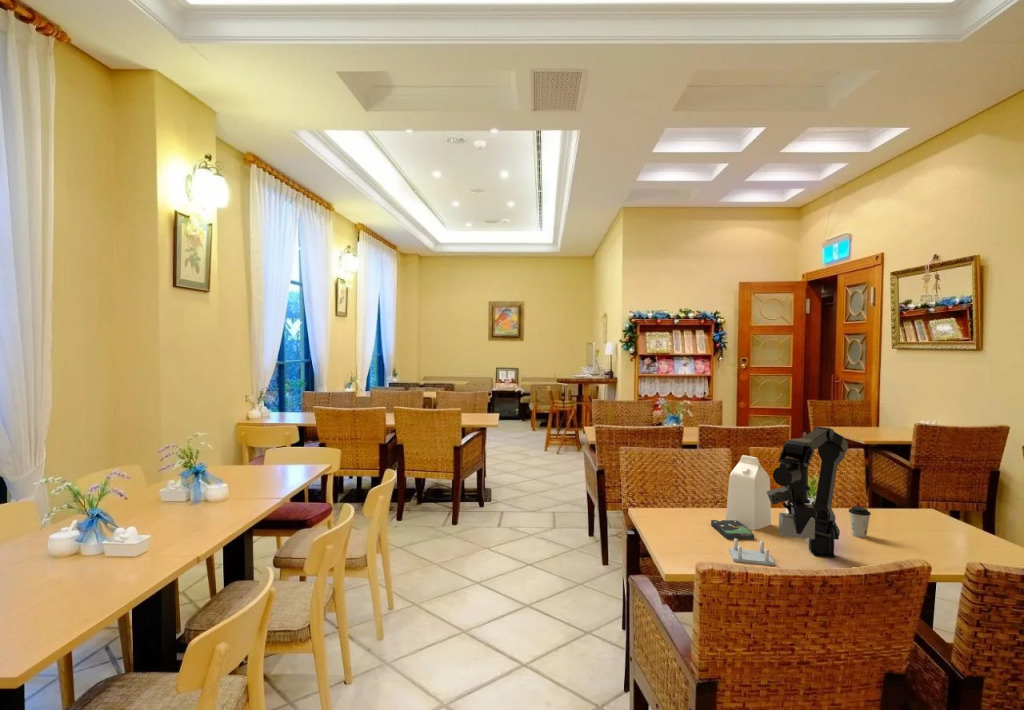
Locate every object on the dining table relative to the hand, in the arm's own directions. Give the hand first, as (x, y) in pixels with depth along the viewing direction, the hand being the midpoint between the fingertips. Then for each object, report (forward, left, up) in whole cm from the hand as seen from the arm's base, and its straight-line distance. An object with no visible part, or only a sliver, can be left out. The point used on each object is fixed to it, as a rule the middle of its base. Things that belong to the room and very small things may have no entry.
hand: (796, 531), depth 167 cm
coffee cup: (-31, -38, -12) cm, 50 cm away
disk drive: (+14, -29, -12) cm, 34 cm away
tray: (+12, -4, -11) cm, 17 cm away
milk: (+6, -42, -12) cm, 44 cm away
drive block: (0, 0, -1) cm, 1 cm away
